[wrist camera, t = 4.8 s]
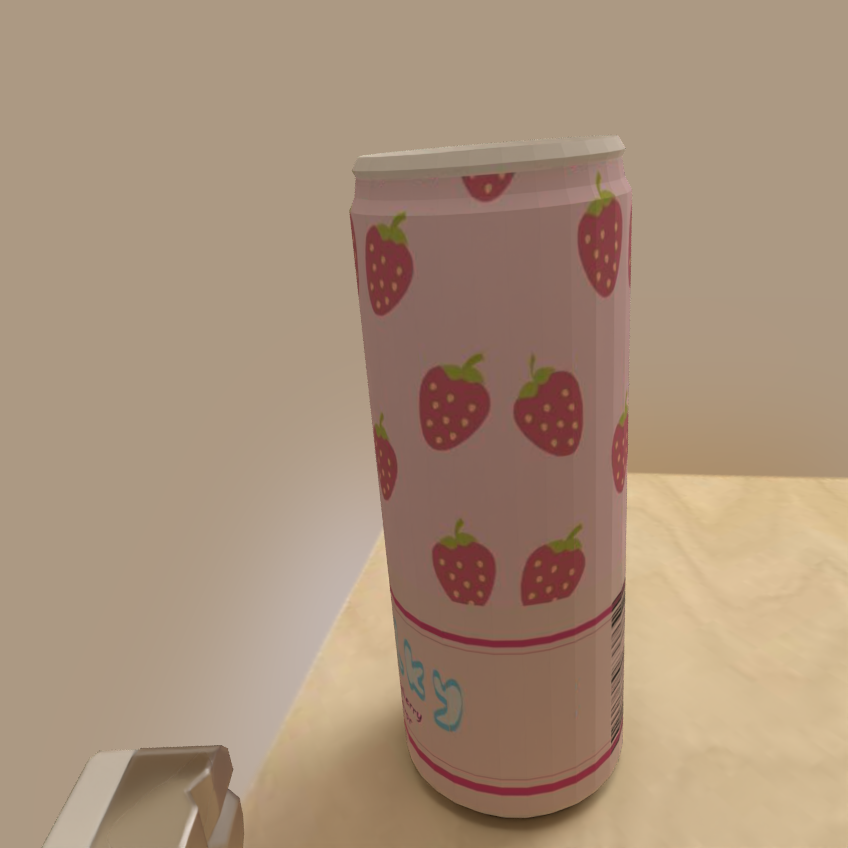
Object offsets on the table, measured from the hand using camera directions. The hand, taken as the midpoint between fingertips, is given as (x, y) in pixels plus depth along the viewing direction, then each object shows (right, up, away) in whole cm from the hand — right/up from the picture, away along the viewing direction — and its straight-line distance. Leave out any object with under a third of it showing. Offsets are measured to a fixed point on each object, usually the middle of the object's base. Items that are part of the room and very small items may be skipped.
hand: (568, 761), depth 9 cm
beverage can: (+1, -5, +11) cm, 12 cm away
